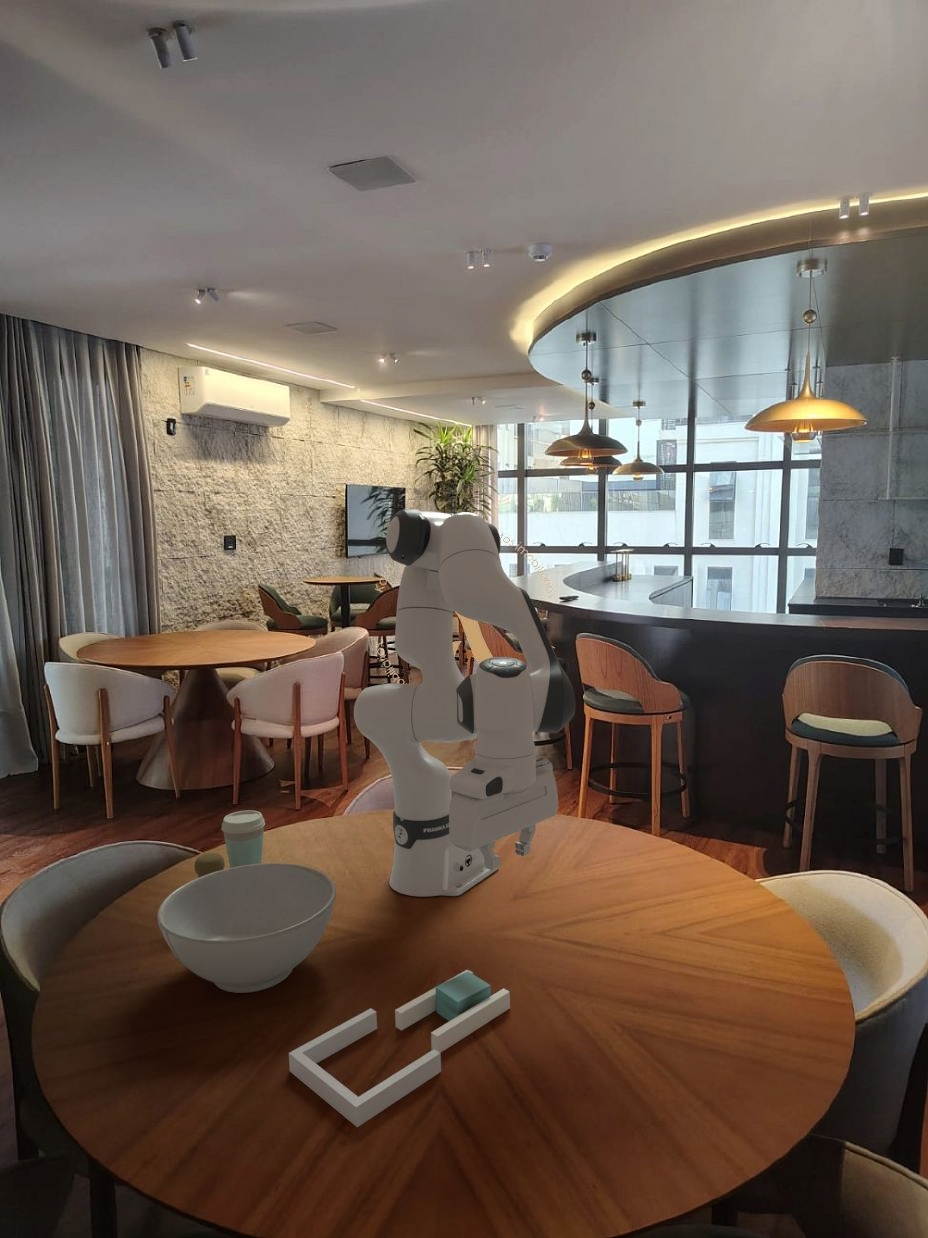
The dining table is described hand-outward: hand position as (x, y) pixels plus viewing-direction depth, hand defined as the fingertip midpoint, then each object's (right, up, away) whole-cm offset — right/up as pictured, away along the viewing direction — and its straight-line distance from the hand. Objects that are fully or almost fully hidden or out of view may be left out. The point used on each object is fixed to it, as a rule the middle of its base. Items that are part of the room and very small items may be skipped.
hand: (507, 860), depth 120 cm
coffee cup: (-51, -16, +44) cm, 69 cm away
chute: (-8, -20, -6) cm, 23 cm away
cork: (-52, -18, +27) cm, 62 cm away
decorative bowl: (-40, -20, +8) cm, 45 cm away
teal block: (-7, -20, -5) cm, 22 cm away
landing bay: (-19, -22, -17) cm, 33 cm away
